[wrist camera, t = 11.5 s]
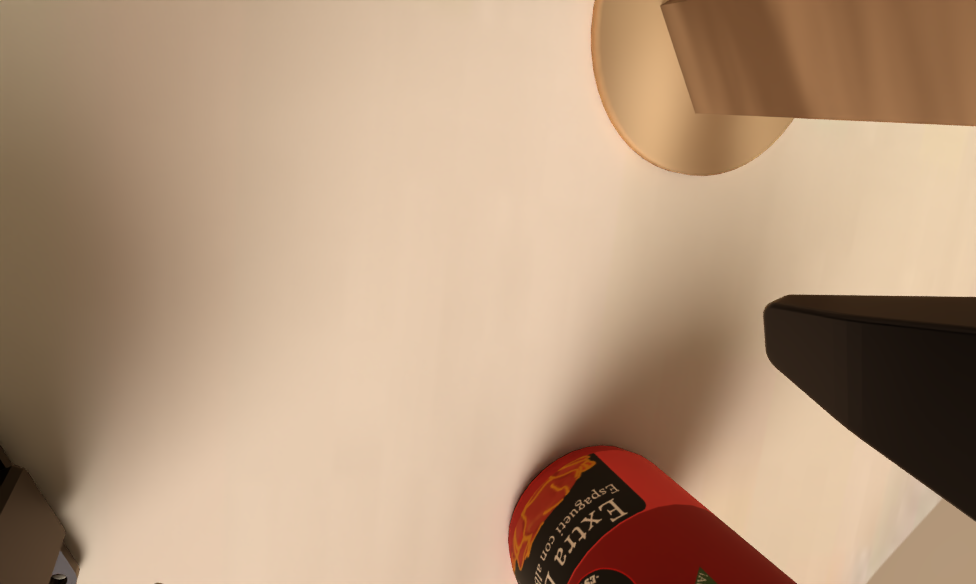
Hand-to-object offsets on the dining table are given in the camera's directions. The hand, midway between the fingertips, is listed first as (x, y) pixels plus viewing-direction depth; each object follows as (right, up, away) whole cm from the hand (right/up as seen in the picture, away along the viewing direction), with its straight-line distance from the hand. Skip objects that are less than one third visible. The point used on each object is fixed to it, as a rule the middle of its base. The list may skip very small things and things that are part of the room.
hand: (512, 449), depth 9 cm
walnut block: (+8, +11, +14) cm, 20 cm away
